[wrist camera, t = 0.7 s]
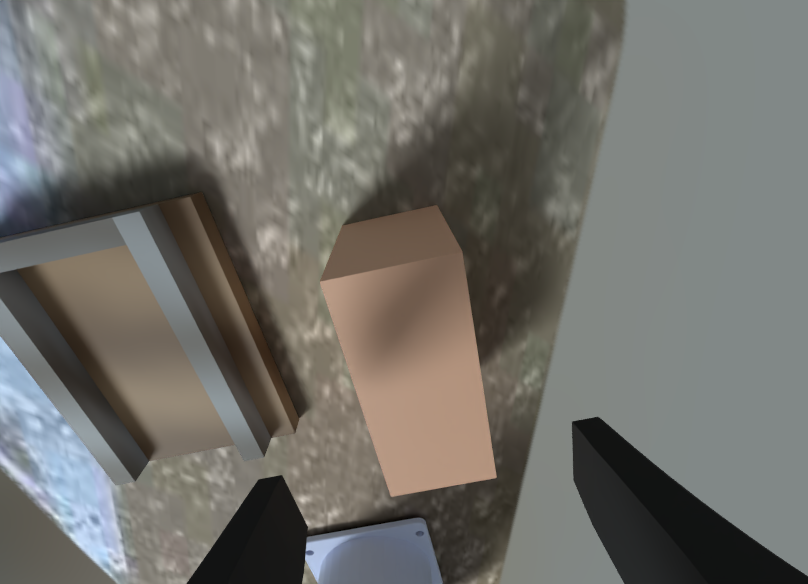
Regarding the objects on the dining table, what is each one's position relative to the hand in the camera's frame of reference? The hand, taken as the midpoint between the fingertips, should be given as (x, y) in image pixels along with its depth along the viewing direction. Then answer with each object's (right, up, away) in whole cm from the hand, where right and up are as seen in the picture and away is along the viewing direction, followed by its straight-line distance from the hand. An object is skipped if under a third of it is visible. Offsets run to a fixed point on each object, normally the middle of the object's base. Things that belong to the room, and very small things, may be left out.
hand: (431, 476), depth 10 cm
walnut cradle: (-12, +2, +8) cm, 15 cm away
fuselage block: (0, +4, +8) cm, 9 cm away
